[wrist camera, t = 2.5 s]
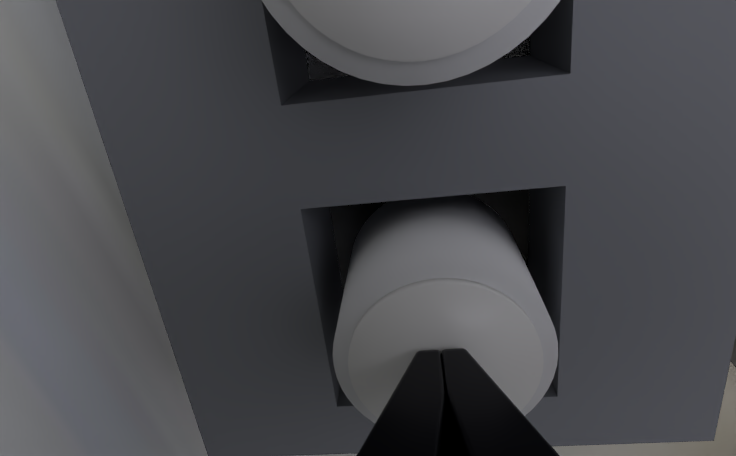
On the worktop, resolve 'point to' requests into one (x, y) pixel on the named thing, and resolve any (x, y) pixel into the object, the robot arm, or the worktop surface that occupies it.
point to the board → (427, 180)
